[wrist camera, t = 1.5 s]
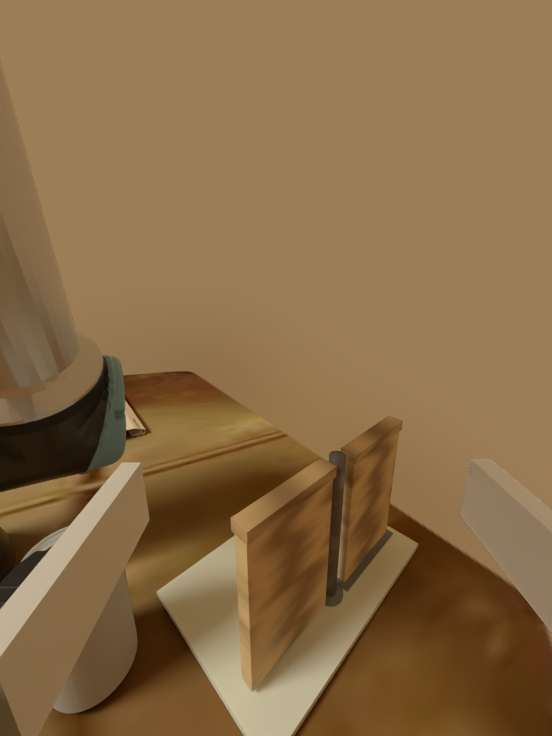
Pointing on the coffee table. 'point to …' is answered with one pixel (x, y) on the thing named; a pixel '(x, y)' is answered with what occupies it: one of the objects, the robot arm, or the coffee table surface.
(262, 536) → the fence panel
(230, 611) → the mat
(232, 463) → the coffee table surface
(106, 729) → the coffee table surface
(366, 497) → the panel
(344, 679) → the coffee table surface
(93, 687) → the beverage can
